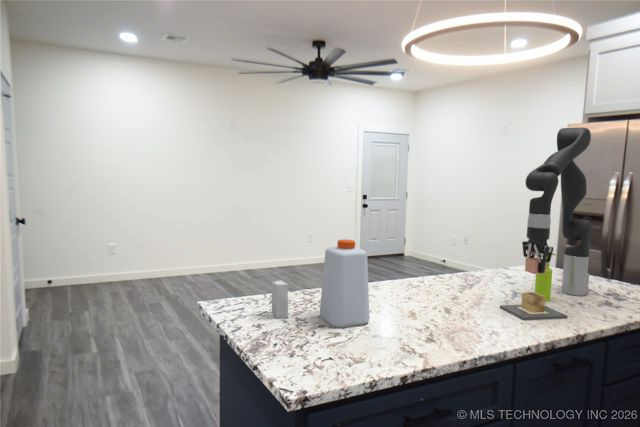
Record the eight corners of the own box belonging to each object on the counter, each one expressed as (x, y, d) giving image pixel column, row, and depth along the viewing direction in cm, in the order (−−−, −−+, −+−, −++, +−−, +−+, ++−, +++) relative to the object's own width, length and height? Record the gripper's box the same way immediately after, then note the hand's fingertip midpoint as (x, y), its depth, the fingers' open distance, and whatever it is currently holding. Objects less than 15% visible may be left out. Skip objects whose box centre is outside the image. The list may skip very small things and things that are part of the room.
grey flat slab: (540, 306, 165) (540, 303, 165) (567, 318, 151) (567, 315, 151) (499, 307, 161) (499, 305, 161) (523, 320, 148) (523, 317, 147)
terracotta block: (536, 270, 158) (537, 257, 157) (546, 273, 153) (546, 260, 152) (524, 270, 157) (525, 257, 156) (534, 273, 152) (535, 260, 151)
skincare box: (288, 317, 145) (289, 284, 144) (276, 319, 143) (277, 285, 142) (282, 312, 151) (282, 279, 150) (270, 313, 149) (271, 281, 148)
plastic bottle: (315, 315, 148) (317, 238, 146) (353, 310, 154) (355, 236, 152) (333, 330, 134) (336, 245, 132) (374, 324, 140) (376, 243, 138)
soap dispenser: (554, 302, 170) (558, 254, 169) (536, 300, 172) (540, 253, 170) (549, 298, 176) (553, 252, 174) (532, 296, 178) (535, 251, 176)
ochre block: (533, 307, 159) (535, 292, 159) (544, 312, 154) (545, 296, 153) (521, 308, 158) (522, 292, 158) (531, 312, 153) (532, 296, 152)
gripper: (562, 228, 147) (558, 275, 148) (534, 223, 161) (531, 266, 162) (543, 228, 145) (540, 275, 147) (517, 223, 159) (514, 267, 161)
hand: (535, 270), depth 155 cm, fingers closed on terracotta block, 5 cm apart
